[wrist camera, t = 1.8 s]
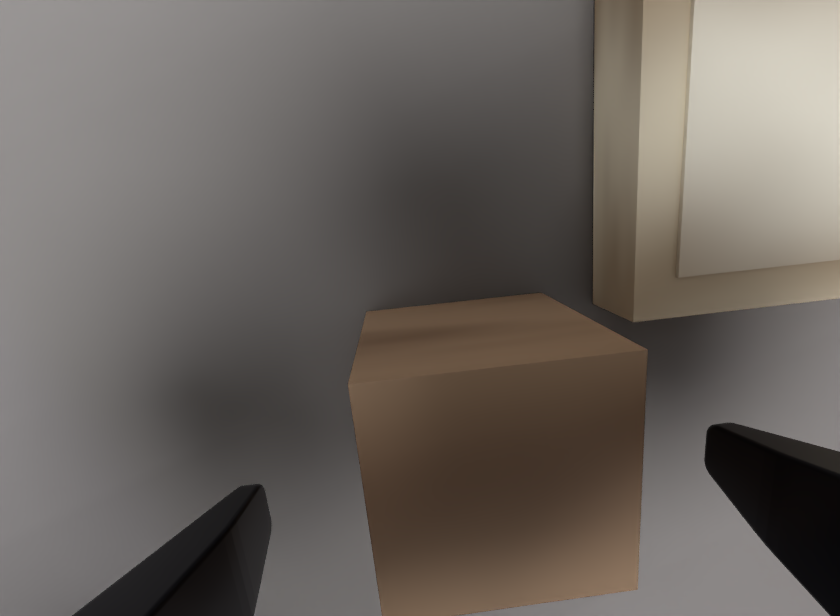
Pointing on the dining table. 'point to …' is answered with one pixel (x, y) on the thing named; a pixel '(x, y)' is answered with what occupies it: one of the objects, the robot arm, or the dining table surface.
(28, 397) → the dining table surface
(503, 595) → the cube
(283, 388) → the dining table surface
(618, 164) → the board
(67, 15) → the dining table surface
